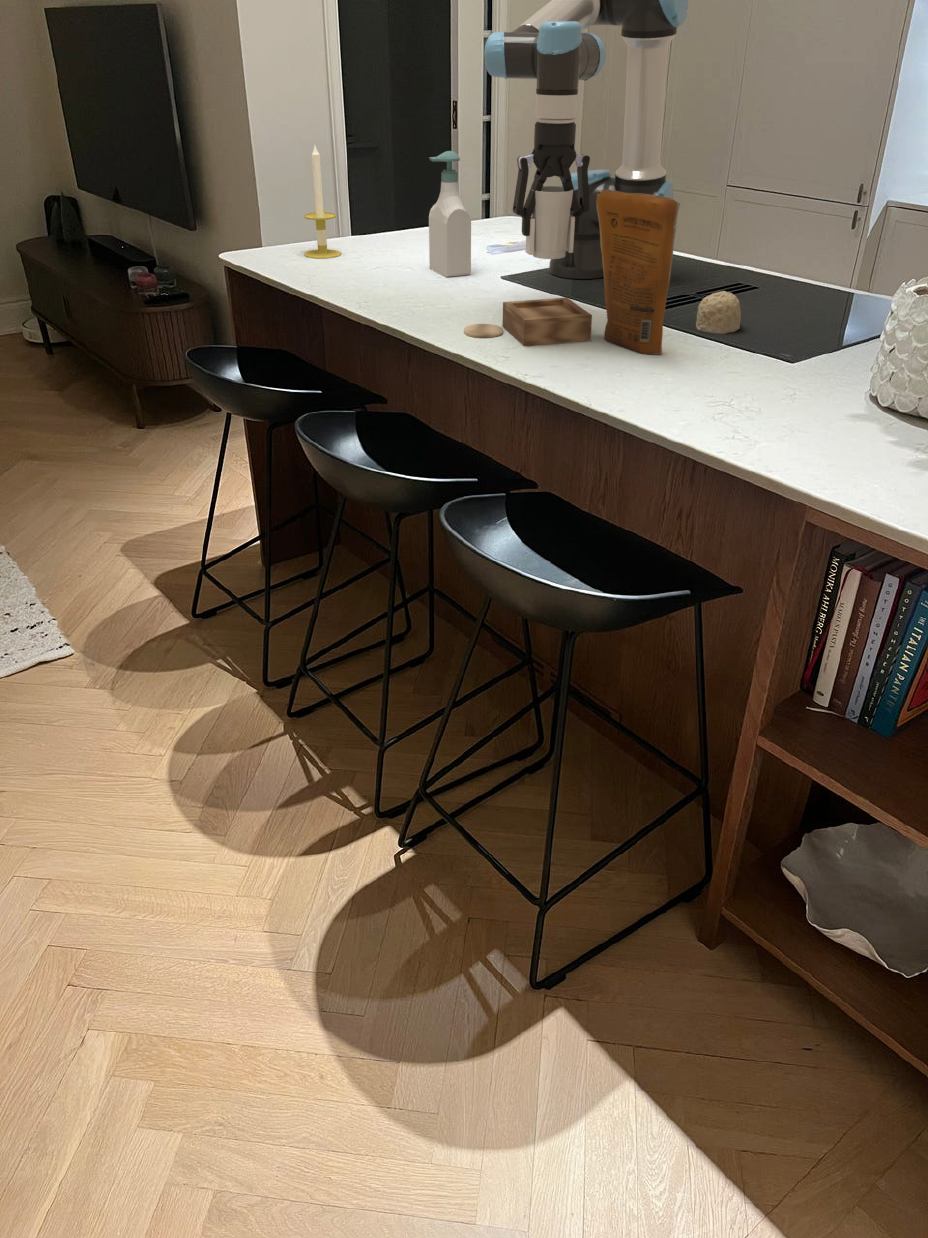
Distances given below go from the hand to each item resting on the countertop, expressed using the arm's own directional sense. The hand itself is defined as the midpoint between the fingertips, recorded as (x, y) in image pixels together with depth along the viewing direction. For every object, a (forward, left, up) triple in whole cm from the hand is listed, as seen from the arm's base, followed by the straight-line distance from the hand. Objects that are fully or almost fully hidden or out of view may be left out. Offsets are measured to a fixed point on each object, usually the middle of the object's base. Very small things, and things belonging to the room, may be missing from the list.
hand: (549, 251), depth 187 cm
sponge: (-36, +5, -16) cm, 40 cm away
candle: (+33, -85, -16) cm, 93 cm away
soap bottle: (+6, -57, -16) cm, 59 cm away
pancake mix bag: (-13, +12, -16) cm, 24 cm away
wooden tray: (0, 0, -16) cm, 16 cm away
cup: (0, 0, -1) cm, 1 cm away
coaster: (+12, -4, -16) cm, 20 cm away
